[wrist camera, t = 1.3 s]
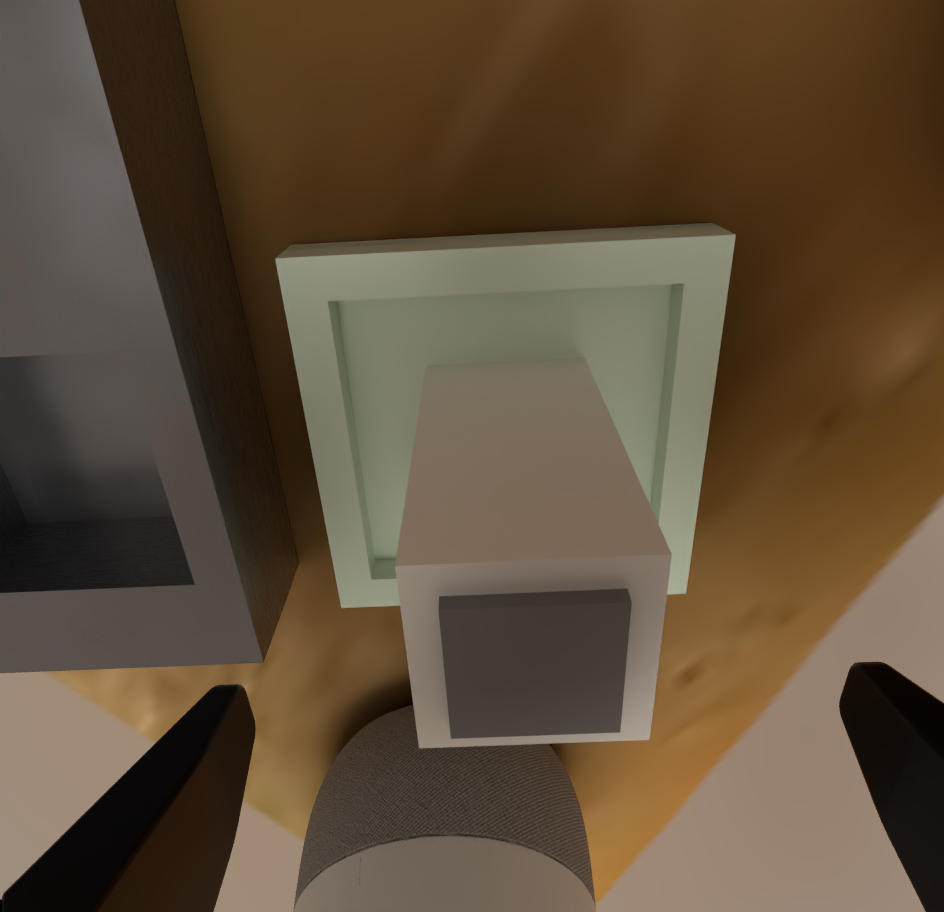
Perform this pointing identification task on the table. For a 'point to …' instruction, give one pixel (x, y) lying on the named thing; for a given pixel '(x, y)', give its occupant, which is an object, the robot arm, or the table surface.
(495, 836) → the smart speaker
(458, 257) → the tray
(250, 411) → the grey socket block
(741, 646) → the table surface
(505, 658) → the plug
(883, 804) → the robot arm
